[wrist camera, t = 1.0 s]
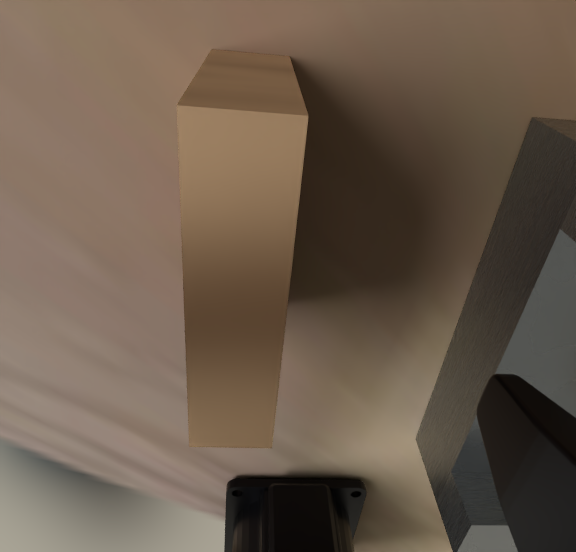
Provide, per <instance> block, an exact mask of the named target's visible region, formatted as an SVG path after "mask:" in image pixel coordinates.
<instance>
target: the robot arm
mask: <svg viewBox="0 0 576 552" xmlns="http://www.w3.org/2000/svg"><path fill="white" fill-rule="evenodd" d="M477 420H478V424H479V428H480V432H481V435H482V439H483V443H484V447H485V451H486V454H487V458H488V462H489V466H490V469H491V473H492V477H493V481H494V485H495V488H496V492H497V495H498V499H499V502H500V505H501V508H502V510H503V513H504V516H505V519H506V521H507V524H508V527H509V529H510V532H511V535H512V537H513V540H514V543H515V545H516V548H517V551H518V552H576V417H574V416H573V415H571V414H570V413H569V412H567V411H566V410H565V409H563V408H562V407H561V406H559V405H558V404H556V403H555V402H554V401H552V400H551V399H550V398H548V397H547V396H546V395H544V394H543V393H541V392H540V391H539V390H537V389H536V388H535V387H533V386H532V385H531V384H529V383H528V382H527V381H525V380H524V379H522V378H521V377H519V376H518V375H514V374H493V375H492V376H491V377H490V378H489V380H488V382H487V385H486V387H485V389H484V391H483V394H482V396H481V398H480V401H479V403H478V406H477ZM365 498H366V487H365V484H364V482H362V481H360V480H306V479H233V480H231V481H229V482H228V484H227V491H226V520H225V552H354V546H353V537H354V534H355V531H356V527H357V524H358V521H359V517H360V514H361V511H362V508H363V504H364V501H365Z"/></svg>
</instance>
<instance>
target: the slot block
mask: <svg viewBox="0 0 576 552" xmlns="http://www.w3.org/2000/svg"><path fill="white" fill-rule="evenodd" d="M493 374H514V375H518V376H519V377H521V378H522V379H524V380H525V381H527V382H528V383H529V384H531V385H532V386H533V387H535V388H536V389H537V390H539V391H540V392H541V393H543V394H544V395H546V396H547V397H548V398H550V399H551V400H552V401H554V402H555V403H556V404H558V405H559V406H561V407H562V408H563V409H565V410H566V411H567V412H569V413H570V414H571V415H573V416H574V417H576V121H570V120H558V119H546V118H534V117H532V119H531V122H530V125H529V127H528V130H527V133H526V136H525V138H524V141H523V144H522V147H521V150H520V152H519V155H518V158H517V161H516V163H515V166H514V169H513V172H512V174H511V177H510V180H509V183H508V185H507V188H506V191H505V194H504V197H503V199H502V202H501V205H500V208H499V210H498V213H497V216H496V219H495V221H494V224H493V227H492V230H491V232H490V235H489V238H488V241H487V244H486V246H485V249H484V252H483V255H482V257H481V260H480V263H479V266H478V268H477V271H476V274H475V277H474V279H473V282H472V285H471V288H470V291H469V293H468V296H467V299H466V302H465V304H464V307H463V310H462V313H461V315H460V318H459V321H458V324H457V326H456V329H455V332H454V335H453V338H452V340H451V343H450V346H449V349H448V351H447V354H446V357H445V360H444V362H443V365H442V368H441V371H440V373H439V376H438V379H437V382H436V384H435V387H434V390H433V393H432V396H431V398H430V401H429V404H428V407H427V409H426V412H425V415H424V418H423V420H422V423H421V426H420V429H419V431H418V434H417V437H416V441H417V444H418V447H419V450H420V453H421V456H422V459H423V462H424V465H425V468H426V471H427V475H428V478H429V481H430V484H431V487H432V490H433V493H434V496H435V499H436V502H437V505H438V508H439V511H440V514H441V517H442V520H443V523H444V526H445V529H446V532H447V535H448V538H449V541H450V544H451V547H452V550H453V552H518V551H517V548H516V545H515V543H514V540H513V537H512V535H511V532H510V529H509V527H508V524H507V521H506V519H505V516H504V513H503V510H502V508H501V505H500V502H499V499H498V495H497V492H496V488H495V485H494V481H493V477H492V473H491V469H490V466H489V462H488V458H487V454H486V451H485V447H484V443H483V439H482V435H481V432H480V428H479V424H478V420H477V406H478V403H479V401H480V398H481V396H482V394H483V391H484V389H485V387H486V385H487V382H488V380H489V378H490V377H491V376H492V375H493Z"/></svg>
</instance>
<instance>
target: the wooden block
mask: <svg viewBox="0 0 576 552" xmlns="http://www.w3.org/2000/svg"><path fill="white" fill-rule="evenodd" d="M307 125H308V113H307V109H306V106H305V103H304V100H303V97H302V94H301V91H300V87H299V84H298V81H297V78H296V75H295V72H294V69H293V66H292V62H291V59H290V56H280V55H269V54H258V53H247V52H236V51H225V50H214V49H212V50H211V51H210V53H209V55H208V56H207V58H206V59H205V61H204V63H203V64H202V66H201V67H200V69H199V71H198V72H197V74H196V75H195V77H194V78H193V80H192V82H191V83H190V85H189V86H188V88H187V90H186V91H185V93H184V94H183V96H182V98H181V99H180V101H179V102H178V104H177V127H178V155H179V182H180V209H181V236H182V263H183V290H184V317H185V344H186V371H187V399H188V426H189V447H229V448H272V442H273V433H274V424H275V415H276V406H277V397H278V388H279V378H280V369H281V360H282V351H283V342H284V333H285V324H286V315H287V306H288V297H289V288H290V279H291V270H292V261H293V252H294V243H295V234H296V225H297V216H298V207H299V198H300V189H301V180H302V171H303V162H304V152H305V143H306V134H307Z"/></svg>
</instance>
